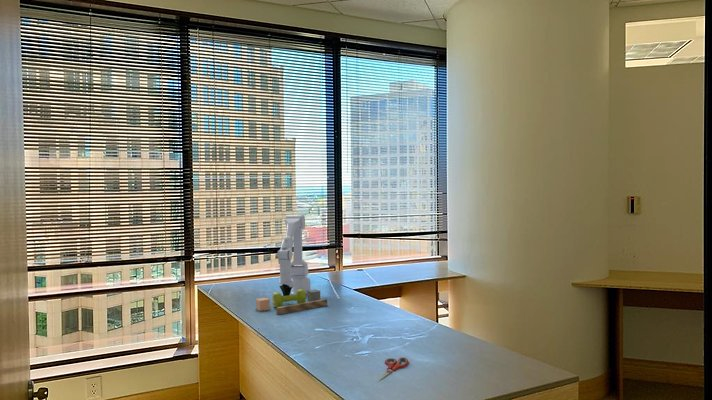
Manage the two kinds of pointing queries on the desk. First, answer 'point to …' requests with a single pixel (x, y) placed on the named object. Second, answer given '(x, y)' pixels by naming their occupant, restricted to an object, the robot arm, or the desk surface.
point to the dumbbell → (288, 298)
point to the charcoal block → (313, 295)
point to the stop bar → (301, 306)
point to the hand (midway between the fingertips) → (286, 299)
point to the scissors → (393, 366)
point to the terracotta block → (262, 304)
